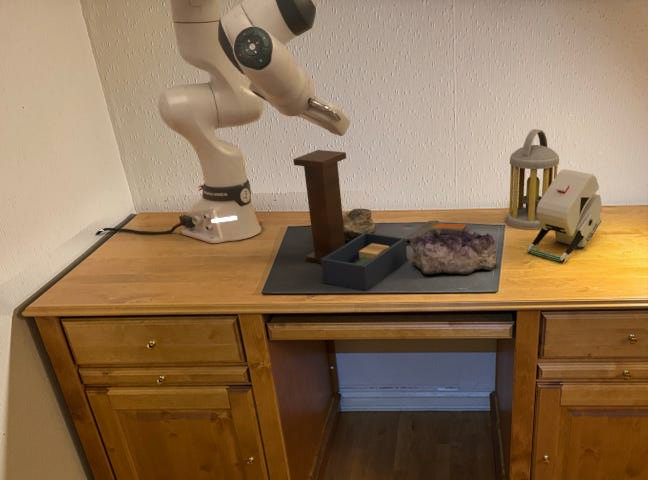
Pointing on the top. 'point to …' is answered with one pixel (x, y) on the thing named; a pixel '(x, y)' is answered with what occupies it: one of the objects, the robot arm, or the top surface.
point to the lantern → (530, 180)
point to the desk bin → (348, 274)
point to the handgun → (436, 229)
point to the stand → (323, 201)
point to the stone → (357, 223)
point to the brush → (370, 252)
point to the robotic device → (569, 212)
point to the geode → (454, 253)
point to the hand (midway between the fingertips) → (316, 121)
